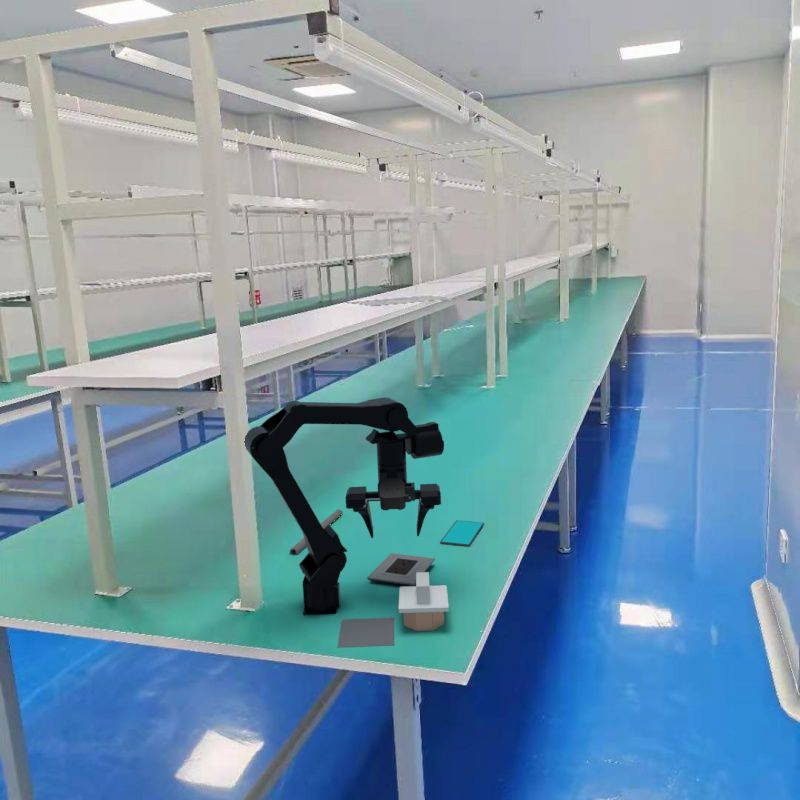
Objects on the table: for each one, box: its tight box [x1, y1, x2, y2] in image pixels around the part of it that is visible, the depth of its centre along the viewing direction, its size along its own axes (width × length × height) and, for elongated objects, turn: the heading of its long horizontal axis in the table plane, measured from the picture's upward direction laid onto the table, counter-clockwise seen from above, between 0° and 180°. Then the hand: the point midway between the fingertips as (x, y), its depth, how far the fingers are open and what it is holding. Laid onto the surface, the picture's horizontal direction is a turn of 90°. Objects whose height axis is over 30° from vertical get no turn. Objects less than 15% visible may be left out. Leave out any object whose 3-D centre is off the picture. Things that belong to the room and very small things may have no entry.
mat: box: [336, 617, 396, 649], centre depth 132 cm, size 10×10×1 cm
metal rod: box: [289, 508, 344, 556], centre depth 182 cm, size 2×27×2 cm, turn 162°
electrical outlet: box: [366, 552, 436, 587], centre depth 156 cm, size 13×10×2 cm
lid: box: [398, 571, 450, 614], centre depth 134 cm, size 9×9×4 cm
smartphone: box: [439, 520, 485, 548], centre depth 178 cm, size 7×1×15 cm
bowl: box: [402, 612, 445, 632], centre depth 135 cm, size 8×8×4 cm
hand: (395, 536), depth 146 cm, fingers open, 9 cm apart
